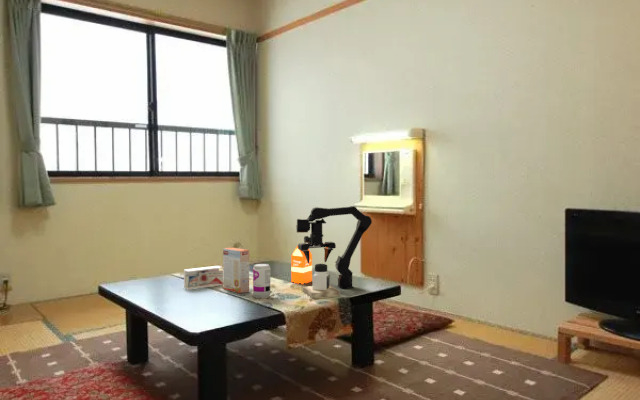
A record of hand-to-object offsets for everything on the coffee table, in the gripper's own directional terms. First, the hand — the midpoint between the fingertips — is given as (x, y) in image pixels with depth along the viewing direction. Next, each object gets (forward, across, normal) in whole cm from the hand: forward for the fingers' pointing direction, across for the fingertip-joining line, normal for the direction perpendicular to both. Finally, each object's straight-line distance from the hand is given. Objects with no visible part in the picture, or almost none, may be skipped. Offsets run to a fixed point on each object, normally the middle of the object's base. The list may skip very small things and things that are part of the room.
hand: (316, 262), depth 251 cm
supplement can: (+13, +31, +7) cm, 34 cm away
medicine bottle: (+11, +3, +12) cm, 17 cm away
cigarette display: (+13, +53, -25) cm, 60 cm away
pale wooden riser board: (+13, +3, +12) cm, 18 cm away
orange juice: (+13, +2, -17) cm, 21 cm away
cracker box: (+13, +40, -10) cm, 43 cm away
